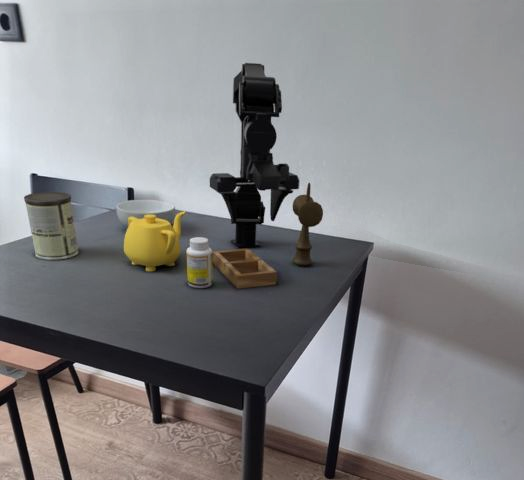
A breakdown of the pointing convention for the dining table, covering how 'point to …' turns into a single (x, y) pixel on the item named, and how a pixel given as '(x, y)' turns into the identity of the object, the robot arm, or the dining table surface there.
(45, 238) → the coffee can
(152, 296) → the dining table surface
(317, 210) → the kendama
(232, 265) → the caddy
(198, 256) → the supplement bottle
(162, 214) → the cereal bowl
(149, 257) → the teapot
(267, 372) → the dining table surface
